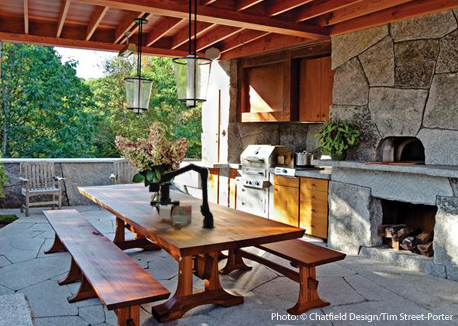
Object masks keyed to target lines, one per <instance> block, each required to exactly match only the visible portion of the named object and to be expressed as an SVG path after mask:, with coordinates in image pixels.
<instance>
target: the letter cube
mask: <svg viewBox="0 0 458 326" xmlns="http://www.w3.org/2000/svg"><path fill="white" fill-rule="evenodd" d="M174 230H182V226H181V222H175V225H174Z"/></svg>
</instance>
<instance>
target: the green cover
mask: <svg viewBox="0 0 458 326" xmlns="http://www.w3.org/2000/svg"><path fill="white" fill-rule="evenodd" d="M175 222H181V227H183V226H186V225H188V224H187V215H179V214H178V215H175V216H173V222H172V225H173V226H175Z"/></svg>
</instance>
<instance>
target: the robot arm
mask: <svg viewBox="0 0 458 326" xmlns="http://www.w3.org/2000/svg"><path fill="white" fill-rule="evenodd" d="M191 171H194V172H196V173H198V174H199V176H200V181H201V196H202V197H201V198H202V200H201V201H202V202H201V204H199V207H200V210H199V212H200V213H201V215H202V217H203V220H202V226H201V228H202V229H209V230H210V229H214V228H216V225H215V224H214V223H215V220H214V219H215V218H214V214H213V213H212V211H211V210H210V205H209V195H208V194H209V191H208V190H209V189H208V180H209V179H208V178H209V169H208V167H206V166H200V165H196V164H195V163H190V164H187V165H185V166H182V167H179V168H177V169H175V170H172V171H166V172H163V173H162V174H161V175H160V178H159V180H158V181H156V182H155V181H149V182H148V183H149V186H148V193H159V192H160V198H159V201H158V200H157V199H156V200H155V199H151V201H150V203H149V206H151V207H153V208H155V210H156V212H157V214H158V215H159V212H160V208H161V207H166V206H169V205H171V206H170V207H171V213H170V216H171V215H172V212H173V209H174V207H176V206H180V204H181V201H180V200H179V199H178V200H175V199H174V200H173V201H172V198H171V195H170V190H171V189H170V187H172V186H173V183H172V182H171V180H172V179H174V178H176V177H178V176H180V175H182V174H185V173H188V172H191ZM214 225H215V226H214Z"/></svg>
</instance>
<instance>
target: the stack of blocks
mask: <svg viewBox="0 0 458 326" xmlns="http://www.w3.org/2000/svg"><path fill="white" fill-rule="evenodd" d="M164 207H165V208H171V206H169V205H167V206H164ZM192 207H193V206H192V205H190V204H184V203H180V206H176V207H174V209H173V212H172V215H171V218H170V219H161V221H165V222H171V223H173V216H175V215H178V214H179V215H187V224H186V225H188V224H191V223H192V217H193V216H192V209H193V208H192Z"/></svg>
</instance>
